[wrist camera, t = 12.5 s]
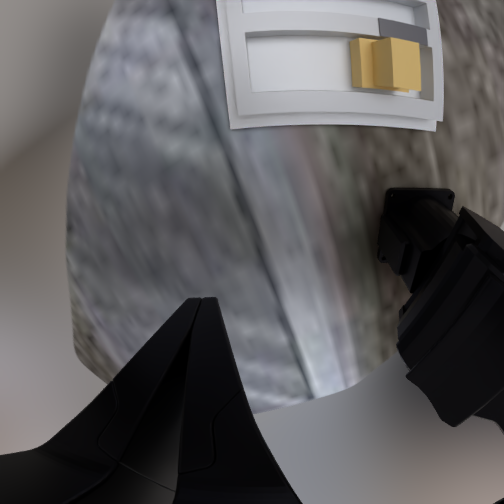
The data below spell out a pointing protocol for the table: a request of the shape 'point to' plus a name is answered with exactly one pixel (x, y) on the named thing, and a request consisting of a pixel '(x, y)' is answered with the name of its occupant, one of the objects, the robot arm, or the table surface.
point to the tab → (386, 64)
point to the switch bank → (324, 62)
